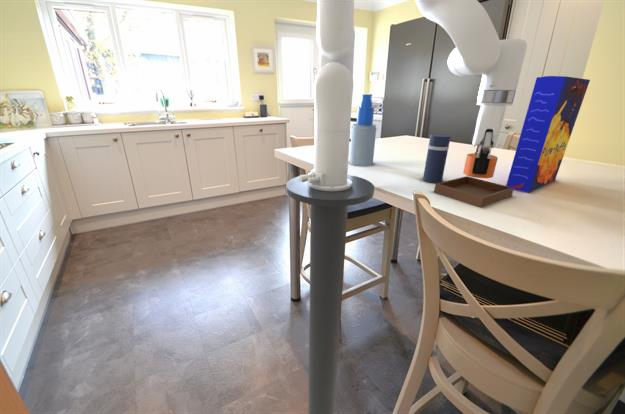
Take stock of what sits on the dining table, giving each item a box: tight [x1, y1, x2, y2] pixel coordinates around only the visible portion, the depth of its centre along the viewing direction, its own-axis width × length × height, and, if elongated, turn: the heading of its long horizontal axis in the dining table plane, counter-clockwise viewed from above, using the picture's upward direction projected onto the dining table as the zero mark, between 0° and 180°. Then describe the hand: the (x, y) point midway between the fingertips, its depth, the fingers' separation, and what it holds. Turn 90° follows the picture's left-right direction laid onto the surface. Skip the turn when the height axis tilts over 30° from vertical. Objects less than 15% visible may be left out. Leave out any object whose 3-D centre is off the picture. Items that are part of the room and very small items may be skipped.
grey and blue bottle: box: [349, 93, 377, 167], centre depth 105 cm, size 9×9×25 cm
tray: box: [433, 175, 515, 208], centre depth 77 cm, size 15×13×2 cm
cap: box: [462, 152, 499, 179], centre depth 74 cm, size 7×7×5 cm
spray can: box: [422, 133, 451, 184], centre depth 87 cm, size 6×6×14 cm
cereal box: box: [505, 75, 591, 194], centre depth 82 cm, size 22×6×30 cm, turn 126°
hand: (478, 169), depth 75 cm, fingers closed on cap, 7 cm apart
